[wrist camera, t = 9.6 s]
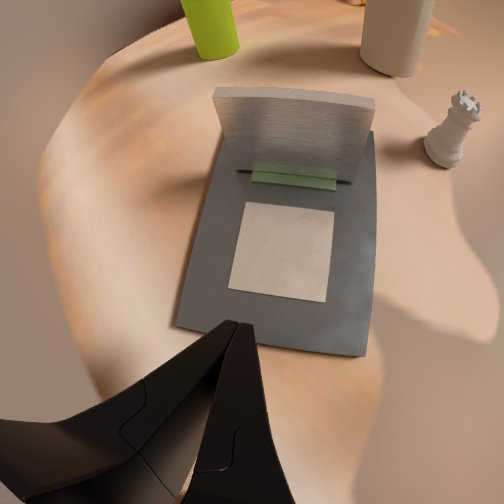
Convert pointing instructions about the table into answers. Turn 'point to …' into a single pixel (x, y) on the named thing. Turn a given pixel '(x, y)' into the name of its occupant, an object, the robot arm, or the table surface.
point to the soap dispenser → (212, 27)
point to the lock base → (286, 257)
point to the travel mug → (395, 35)
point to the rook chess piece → (453, 131)
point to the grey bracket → (294, 130)
